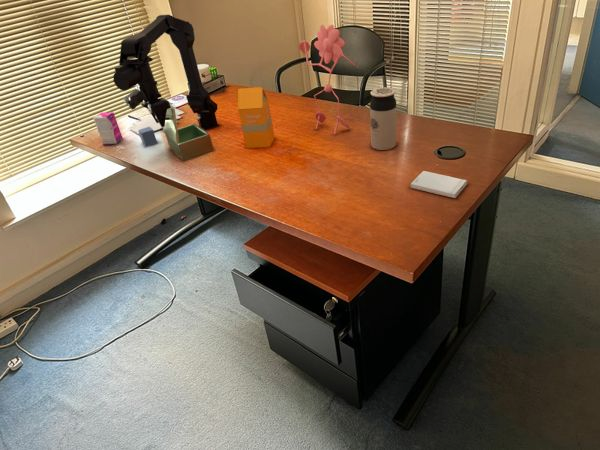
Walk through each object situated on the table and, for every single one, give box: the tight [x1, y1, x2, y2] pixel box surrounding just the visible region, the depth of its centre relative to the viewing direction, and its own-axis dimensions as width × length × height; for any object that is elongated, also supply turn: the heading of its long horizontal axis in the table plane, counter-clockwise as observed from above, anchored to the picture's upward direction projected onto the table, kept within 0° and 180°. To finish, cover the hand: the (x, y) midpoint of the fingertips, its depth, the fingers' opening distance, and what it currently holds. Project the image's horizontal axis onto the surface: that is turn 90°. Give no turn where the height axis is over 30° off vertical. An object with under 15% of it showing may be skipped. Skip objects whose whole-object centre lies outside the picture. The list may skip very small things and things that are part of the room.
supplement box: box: [93, 111, 124, 146], centre depth 174 cm, size 6×6×12 cm
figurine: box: [298, 24, 359, 139], centre depth 153 cm, size 15×26×35 cm, turn 45°
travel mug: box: [369, 86, 397, 151], centre depth 139 cm, size 8×8×18 cm
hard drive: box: [410, 170, 468, 199], centre depth 119 cm, size 2×8×12 cm
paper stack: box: [128, 107, 186, 136], centre depth 191 cm, size 23×25×1 cm
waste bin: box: [165, 123, 214, 162], centre depth 160 cm, size 12×15×6 cm
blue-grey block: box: [138, 127, 158, 148], centre depth 170 cm, size 5×5×6 cm
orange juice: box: [237, 86, 275, 149], centre depth 153 cm, size 8×9×20 cm
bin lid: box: [155, 104, 179, 144], centre depth 151 cm, size 12×15×4 cm
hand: (160, 124), depth 151 cm, fingers closed on bin lid, 5 cm apart
